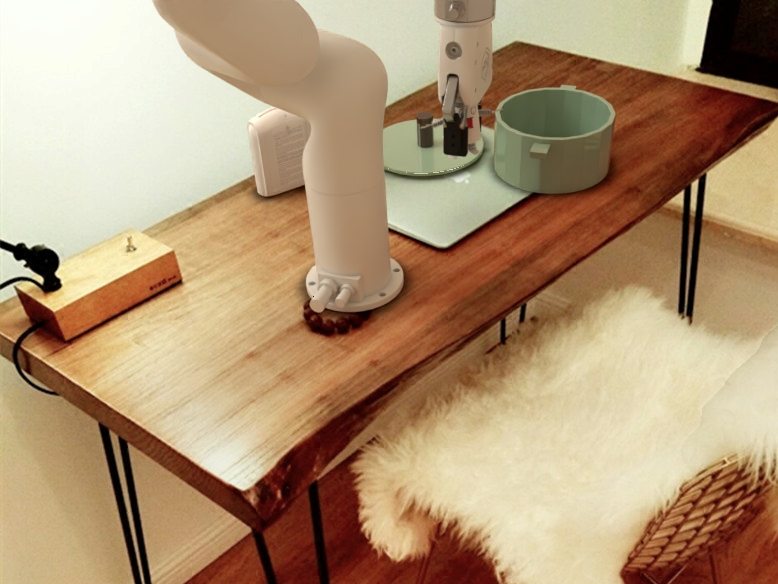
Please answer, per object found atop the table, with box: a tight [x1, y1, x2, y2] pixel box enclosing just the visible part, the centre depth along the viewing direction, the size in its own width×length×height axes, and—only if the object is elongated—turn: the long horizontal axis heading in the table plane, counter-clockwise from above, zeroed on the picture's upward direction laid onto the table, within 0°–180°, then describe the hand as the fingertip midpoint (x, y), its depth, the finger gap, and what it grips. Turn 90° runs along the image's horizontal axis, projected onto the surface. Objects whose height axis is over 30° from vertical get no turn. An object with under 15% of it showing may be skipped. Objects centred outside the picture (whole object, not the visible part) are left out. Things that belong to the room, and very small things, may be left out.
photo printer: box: [246, 106, 311, 198], centre depth 134 cm, size 10×4×12 cm, turn 123°
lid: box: [383, 111, 485, 177], centre depth 142 cm, size 18×18×6 cm
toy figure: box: [421, 98, 503, 159], centre depth 121 cm, size 12×6×9 cm, turn 113°
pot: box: [493, 84, 617, 195], centre depth 136 cm, size 17×23×8 cm
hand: (462, 142), depth 122 cm, fingers closed on toy figure, 6 cm apart
